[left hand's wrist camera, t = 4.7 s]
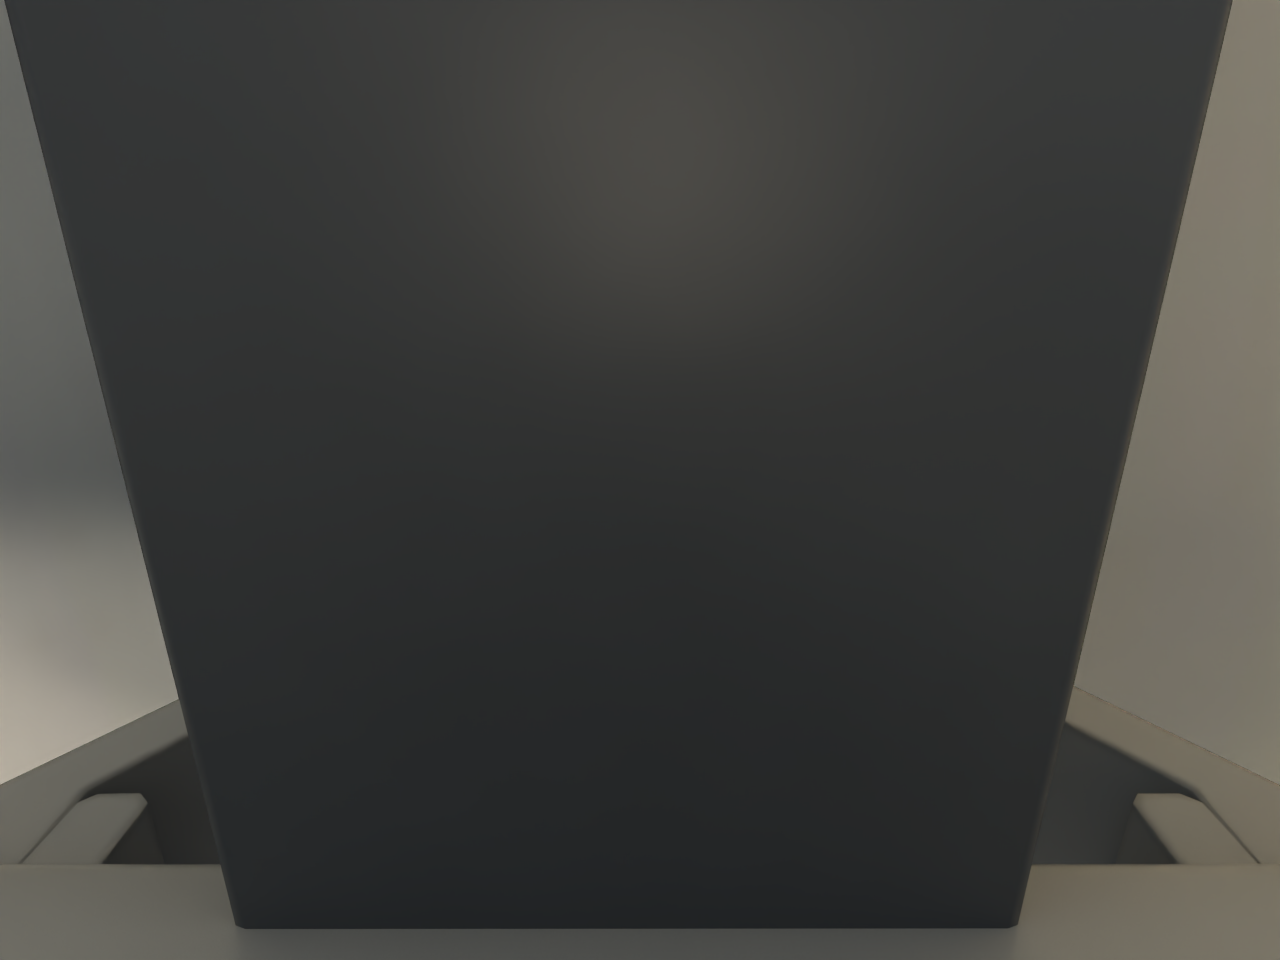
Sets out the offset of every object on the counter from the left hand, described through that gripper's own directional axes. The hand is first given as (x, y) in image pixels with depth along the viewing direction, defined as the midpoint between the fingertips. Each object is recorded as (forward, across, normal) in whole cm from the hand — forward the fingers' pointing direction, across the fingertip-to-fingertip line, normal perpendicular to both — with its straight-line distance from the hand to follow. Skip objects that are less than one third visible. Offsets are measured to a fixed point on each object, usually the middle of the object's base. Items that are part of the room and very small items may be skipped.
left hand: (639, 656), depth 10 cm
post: (+3, 0, -26) cm, 27 cm away
